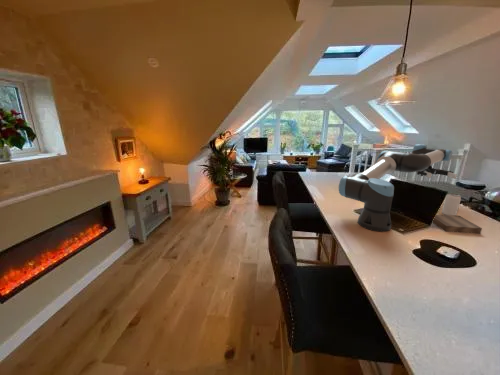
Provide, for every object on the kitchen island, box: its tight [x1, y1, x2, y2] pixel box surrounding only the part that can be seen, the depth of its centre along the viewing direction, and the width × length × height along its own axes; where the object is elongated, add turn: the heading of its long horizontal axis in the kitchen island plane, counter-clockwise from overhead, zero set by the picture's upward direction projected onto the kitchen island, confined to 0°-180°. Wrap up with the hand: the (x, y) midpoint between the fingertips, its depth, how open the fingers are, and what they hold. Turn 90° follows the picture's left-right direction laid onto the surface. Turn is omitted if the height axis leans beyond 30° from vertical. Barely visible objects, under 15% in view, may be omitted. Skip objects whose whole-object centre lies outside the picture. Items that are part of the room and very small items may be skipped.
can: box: [441, 192, 462, 215], centre depth 129 cm, size 6×6×12 cm
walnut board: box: [432, 213, 483, 235], centre depth 116 cm, size 15×15×3 cm
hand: (443, 176), depth 137 cm, fingers open, 13 cm apart
